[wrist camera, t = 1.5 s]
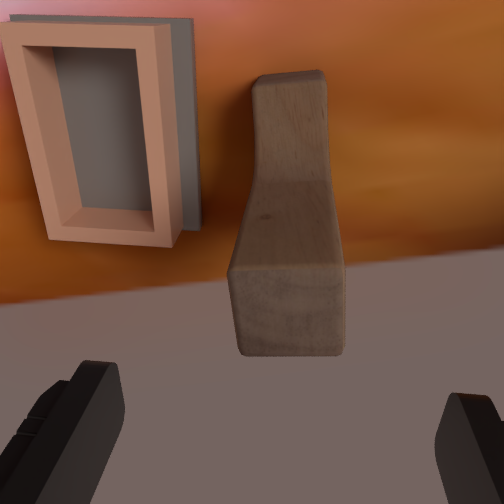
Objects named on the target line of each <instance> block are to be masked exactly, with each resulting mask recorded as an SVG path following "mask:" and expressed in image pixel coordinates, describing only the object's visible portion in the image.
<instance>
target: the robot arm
mask: <svg viewBox="0 0 504 504" xmlns="http://www.w3.org/2000/svg"><path fill="white" fill-rule="evenodd" d="M124 413H125V404H124V398H123V393H122V387H121V383H120V376H119V371H118V367H117V364H116V363H112V362H101V361H90V360H85V361H83V362H82V363H81V364H80V365H79V367H78V368H77V370H76V372H75V373H74V375H73V376H72V378H71V380H70V381H64V380H59V381H58V382H56V383H55V384H54V385H53V386H52V387H50V388H49V389H48V390H47V391H45V392H44V393H43V394H42V395H41V396H40V397H39V398H38V400H37V401H36V403H35V404H34V406H33V407H32V409H31V410H30V412H29V413H28V415H27V419H24V421H23V422H22V424H21V425H20V427H19V428H18V430H17V434H16V435H14V436H13V437H12V439H11V440H10V442H9V443H8V445H7V446H6V448H5V449H4V451H3V452H2V454H1V455H0V504H90V502H91V499H92V497H93V495H94V492H95V490H96V488H97V485H98V483H99V481H100V478H101V476H102V474H103V471H104V469H105V466H106V464H107V462H108V459H109V457H110V455H111V452H112V450H113V447H114V445H115V443H116V441H117V438H118V436H119V433H120V431H121V428H122V425H123V421H124ZM435 457H436V462H437V466H438V469H439V472H440V476H441V479H442V482H443V486H444V489H445V493H446V496H447V500H448V503H449V504H504V421H501V419H500V417H499V415H498V413H497V410H496V408H495V406H494V404H493V402H492V401H491V399H490V398H489V397H488V396H486V395H476V394H464V393H451V394H450V395H449V398H448V400H447V403H446V406H445V409H444V412H443V415H442V418H441V421H440V424H439V427H438V430H437V433H436V437H435Z"/></svg>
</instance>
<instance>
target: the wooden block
mask: <svg viewBox="0 0 504 504" xmlns="http://www.w3.org/2000/svg"><path fill="white" fill-rule="evenodd" d="M251 94H252V107H253V121H254V134H255V166H254V174H253V182H252V187H251V191H250V194H249V198H248V201H247V205H246V208H245V212H244V215H243V219H242V222H241V226H240V229H239V233H238V236H237V240H236V243H235V247H234V250H233V254H232V257H231V261H230V264H229V268H228V271H227V279H228V285H229V292H230V298H231V305H232V312H233V319H234V325H235V332H236V338H237V345H238V349H239V351H240V353H241V354H242V355H244V356H338V355H340V354H342V351H343V349H344V347H345V264H344V258H343V251H342V245H341V238H340V232H339V226H338V219H337V213H336V206H335V200H334V194H333V187H332V181H331V170H330V159H329V139H328V107H327V83H326V80H325V76H324V74H323V71H320V70H311V71H300V72H289V73H278V74H267V75H262V76H260V77H258V79H257V80H256V82H255V83H254V85H253V87H252V91H251Z"/></svg>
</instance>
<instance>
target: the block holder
mask: <svg viewBox="0 0 504 504" xmlns="http://www.w3.org/2000/svg"><path fill="white" fill-rule="evenodd" d="M10 20H11V21H9V22H0V37H1V41H2V46H3V50H4V54H5V58H6V62H7V66H8V71H9V75H10V79H11V83H12V87H13V91H14V96H15V100H16V104H17V108H18V112H19V117H20V121H21V125H22V129H23V133H24V137H25V142H26V146H27V150H28V154H29V158H30V162H31V167H32V171H33V175H34V179H35V183H36V187H37V192H38V196H39V200H40V204H41V208H42V212H43V217H44V221H45V225H46V229H47V233H48V237H49V240H63V241H78V242H93V243H108V244H123V245H138V246H153V247H168V248H172V247H173V245H174V244H175V242H176V240H177V238H178V236H179V234H180V232H181V231H182V230H191V231H200V230H201V227H202V207H201V184H200V160H199V137H198V114H197V91H196V67H195V44H194V21H193V18H155V17H112V16H69V15H26V14H13V15H10Z"/></svg>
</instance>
